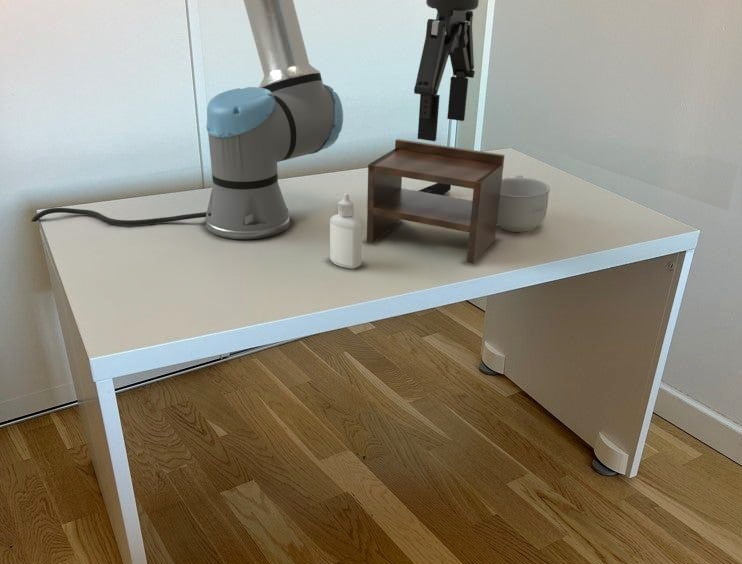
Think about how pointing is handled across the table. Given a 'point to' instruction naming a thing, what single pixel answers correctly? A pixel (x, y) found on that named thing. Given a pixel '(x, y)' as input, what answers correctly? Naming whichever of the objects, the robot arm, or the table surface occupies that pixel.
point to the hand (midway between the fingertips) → (441, 129)
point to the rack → (435, 209)
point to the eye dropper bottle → (345, 236)
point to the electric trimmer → (437, 189)
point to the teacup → (522, 203)
